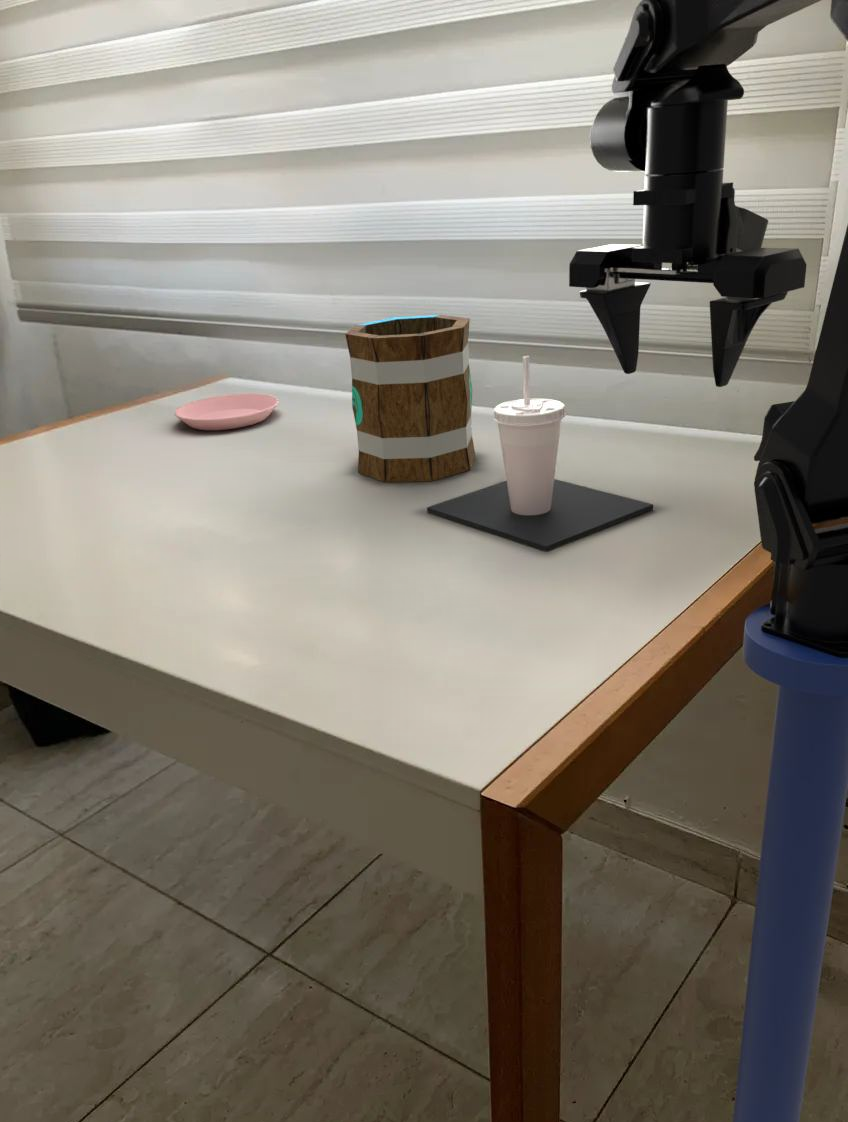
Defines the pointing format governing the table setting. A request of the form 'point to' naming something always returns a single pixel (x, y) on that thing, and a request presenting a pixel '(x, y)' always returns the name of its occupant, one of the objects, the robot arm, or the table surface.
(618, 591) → the table surface
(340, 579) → the table surface
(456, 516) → the mat
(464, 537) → the table surface
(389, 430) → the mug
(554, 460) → the smoothie
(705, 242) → the robot arm
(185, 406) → the plate
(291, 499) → the table surface
